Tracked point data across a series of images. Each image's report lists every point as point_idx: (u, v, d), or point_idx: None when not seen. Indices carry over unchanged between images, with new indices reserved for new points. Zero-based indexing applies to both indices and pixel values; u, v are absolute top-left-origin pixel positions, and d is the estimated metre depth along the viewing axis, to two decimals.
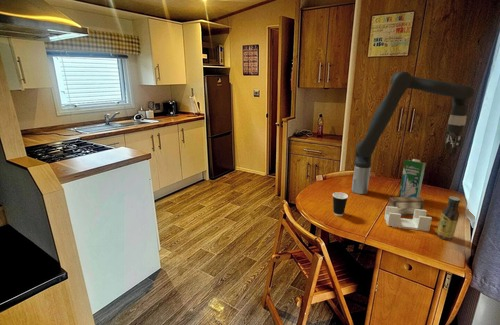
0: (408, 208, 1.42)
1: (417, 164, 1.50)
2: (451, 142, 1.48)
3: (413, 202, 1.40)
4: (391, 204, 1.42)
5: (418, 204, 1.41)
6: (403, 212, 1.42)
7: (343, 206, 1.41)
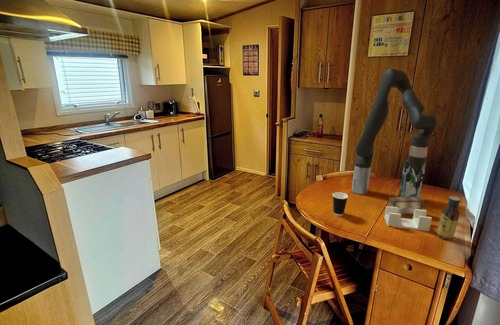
0: (408, 208, 1.42)
1: None
2: None
3: (412, 201, 1.41)
4: (391, 204, 1.43)
5: (418, 204, 1.41)
6: (403, 212, 1.42)
7: (343, 206, 1.41)
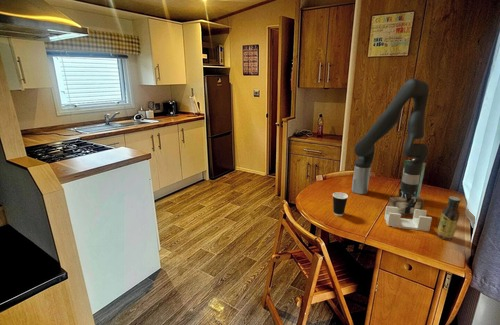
0: None
1: None
2: None
3: None
4: (391, 204, 1.42)
5: (418, 204, 1.41)
6: (403, 212, 1.42)
7: (343, 206, 1.41)
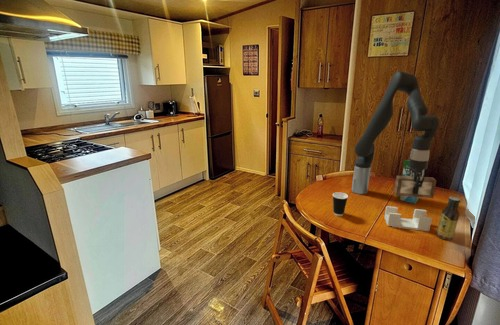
0: None
1: None
2: None
3: None
4: (397, 182, 1.32)
5: (429, 184, 1.27)
6: (410, 192, 1.30)
7: (343, 206, 1.41)
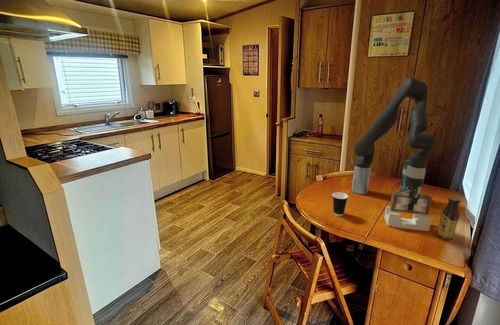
0: None
1: None
2: None
3: None
4: (392, 198, 1.32)
5: (424, 201, 1.27)
6: (406, 208, 1.30)
7: (343, 206, 1.41)
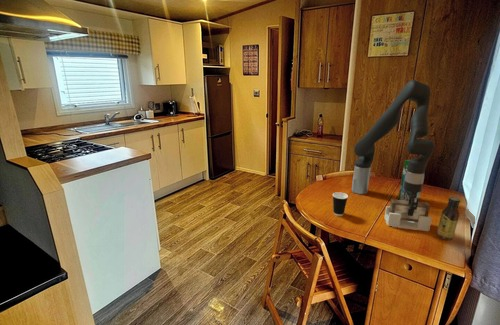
0: None
1: None
2: None
3: None
4: (391, 206, 1.33)
5: (422, 209, 1.28)
6: (404, 216, 1.32)
7: (343, 206, 1.41)
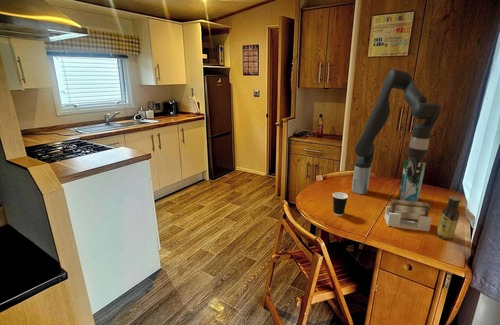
0: (410, 213, 1.30)
1: None
2: None
3: (416, 206, 1.29)
4: (391, 206, 1.33)
5: (422, 209, 1.28)
6: (404, 216, 1.32)
7: (343, 206, 1.41)
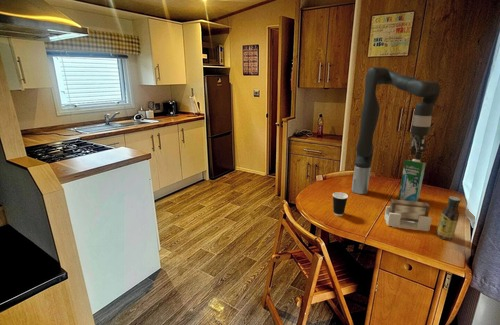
0: (410, 213, 1.30)
1: (417, 164, 1.50)
2: None
3: (416, 206, 1.29)
4: (391, 206, 1.33)
5: (422, 209, 1.28)
6: (404, 216, 1.32)
7: (343, 206, 1.41)
